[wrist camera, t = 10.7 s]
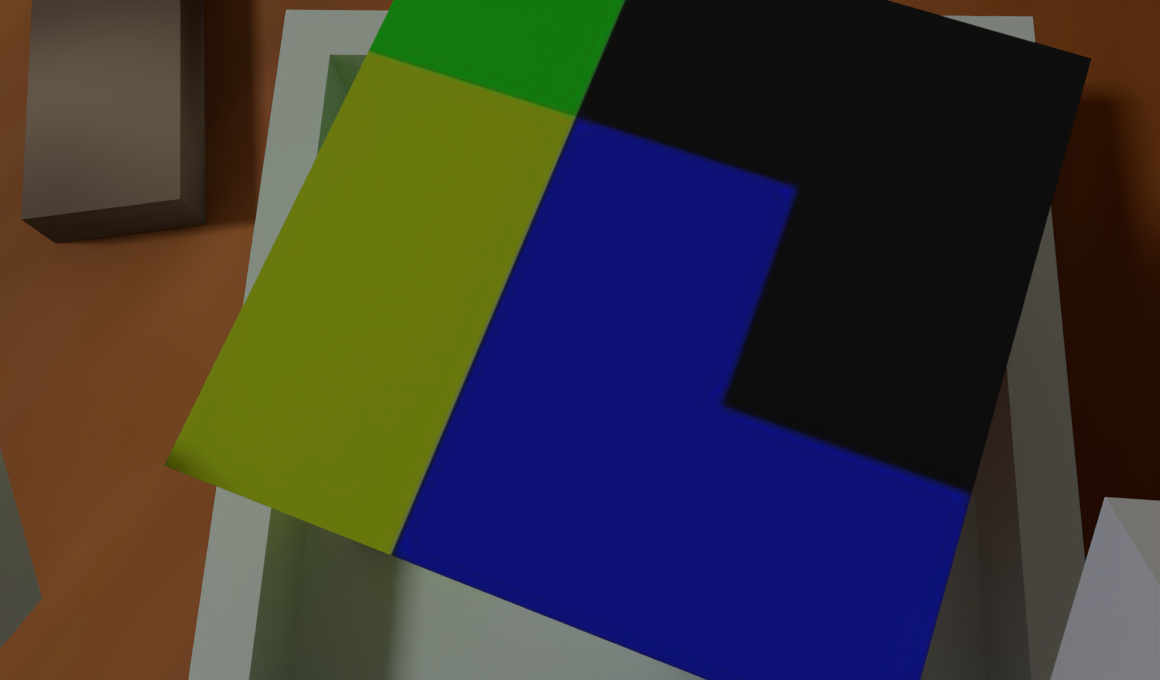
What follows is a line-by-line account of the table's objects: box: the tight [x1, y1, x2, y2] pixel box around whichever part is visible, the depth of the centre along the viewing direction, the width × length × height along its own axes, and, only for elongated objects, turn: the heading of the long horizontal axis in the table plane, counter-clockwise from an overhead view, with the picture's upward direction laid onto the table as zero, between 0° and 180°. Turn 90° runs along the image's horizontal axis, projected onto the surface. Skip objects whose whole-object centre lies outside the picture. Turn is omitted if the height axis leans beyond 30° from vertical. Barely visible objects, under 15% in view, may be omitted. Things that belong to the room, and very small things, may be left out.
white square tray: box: [189, 10, 1085, 680], centre depth 23 cm, size 17×17×4 cm
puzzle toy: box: [164, 0, 1091, 680], centre depth 19 cm, size 10×10×10 cm
